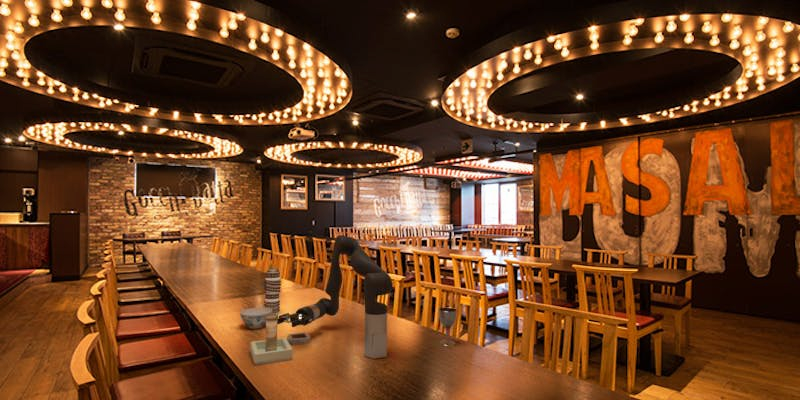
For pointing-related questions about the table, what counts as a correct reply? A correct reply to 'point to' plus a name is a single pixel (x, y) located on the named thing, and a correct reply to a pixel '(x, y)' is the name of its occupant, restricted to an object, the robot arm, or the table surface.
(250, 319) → the chinaware
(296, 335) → the stop collar
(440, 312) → the wine glass
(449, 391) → the table surface
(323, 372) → the table surface
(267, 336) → the stop peg
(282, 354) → the tray
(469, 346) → the table surface
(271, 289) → the decorative candle
